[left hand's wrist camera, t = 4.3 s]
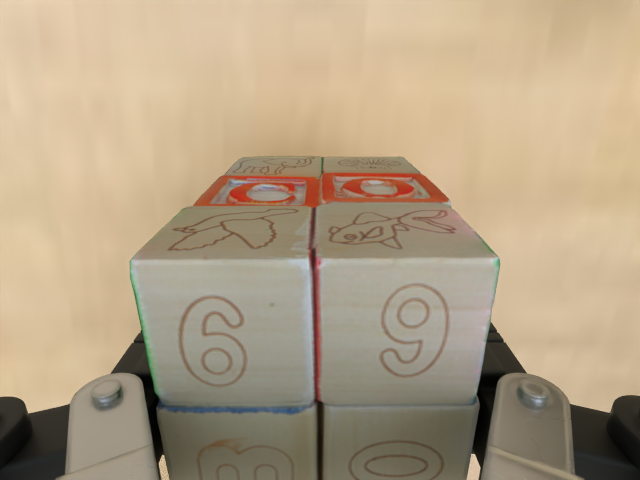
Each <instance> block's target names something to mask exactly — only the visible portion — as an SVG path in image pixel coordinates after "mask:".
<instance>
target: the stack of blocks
mask: <svg viewBox="0 0 640 480" xmlns="http://www.w3.org/2000/svg"><path fill="white" fill-rule="evenodd" d="M499 269H500V260H499V257H498V256H497V255H496V254H495V253H494V252H493V251H492V250H491V248H490V247H489V246H488V245H487V244H486V243H485V242H484V240H483V239H482V238H481V237H480V236H479V235H478V234H477V233H476V232H475V231H474V230H473V229H472V228H471V227H470V226H469V225H468V224H467V223H466V222H465V221H464V220H463V219H462V218H461V216H460V215H459V214H458V213H457V212H456V211H455V210H453V209H452V208H451V206H450V200H449V199H448V198H447V197H446V196H445V195H444V194H443V193H442V192H441V191H440V190H439V189H438V188H437V187H436V186H435V185H434V184H433V183H432V182H431V181H430V180H429V179H428V178H427V177H426V176H424V175H422V174H421V173H420V172H419V171H418V170H417V169H416V168H415V167H413V165H412V164H410V163H409V162H408V161H407V160H406V159H405V158H403V157H315V156H262V157H245V158H241V159H239V160H238V161H237V162H236V163H235V164H234V165H233V166H232V167H231V168H230V169H229V170H228V172H226V174H225V175H224V176H221V177H219V178H218V179H217V180H216V182H214V183H213V184H212V185H211V187H210V188H209V189H208V190H207V191H206V192H205V193H204V194H203V195H202V196H201V197H200V198H199V199H198V200H197V201H196V203H195V204H194V205H193V206H192V207H187V208H184V209H182V210H181V211H180V212H179V213H178V214H177V215H176V216H175V217H174V218H173V219H172V220H171V221H170V222H169V223H168V224H166V225H165V226H164V227H163V228H162V229H161V230H160V231H159V232H158V233H157V234H156V235H155V236H154V237H153V238H152V239H151V240H150V241H149V242H148V243H147V244H146V245H144V246H143V247H142V248H141V249H140V250H139V251H138V252H137V253H136V254H135V255H134V257H133V258H132V259H131V261H130V279H131V283H132V287H133V290H134V295H135V300H136V305H137V310H138V314H139V319H140V324H141V328H142V333H143V338H144V342H145V347H146V353H147V359H148V364H149V368H150V373H151V376H152V380H153V384H154V390H155V393H156V395H157V396H158V398H159V402H158V405H157V408H156V411H157V421H158V426H159V430H160V434H161V439H162V445H163V450H164V456H165V461H166V465H167V470H168V474H169V479H170V480H466V479H467V474H468V468H469V463H470V458H471V452H472V447H473V441H474V435H475V430H476V424H477V419H478V413H479V408H480V403H479V399H478V397H477V390H478V385H479V381H480V376H481V370H482V365H483V359H484V352H485V346H486V341H487V336H488V331H489V327H490V323H491V312H492V306H493V302H494V298H495V292H496V286H497V281H498V275H499Z"/></svg>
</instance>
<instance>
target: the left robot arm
mask: <svg viewBox="0 0 640 480" xmlns="http://www.w3.org/2000/svg"><path fill="white" fill-rule="evenodd" d="M477 397H478V399H479V403H480V408H479V413H478V419H477V424H476V430H475V435H474V441H473V447H472V452H471V454H475V455H476V458H477V460H478V462H479V465H480V467H481V468H480V474H479V479H478V480H640V396H634V395H627V396H622V397H619V398H617V399H616V400H615V401H614V403H613V406H612V409H611V412H610V413H607V412H603V411H598V410H594V409H589V408H585V407H580V406H576V405H572V404H570V403H569V400H568V398H567V397H566V395H565V394H564V393H563V392H562V391H561V390H560V389H559V388H558V387H557V386H555V385H554V384H552V383H551V382H549V381H547V380H545V379H543V378H541V377H538V376H535V375H531V374H527V373H526V371H525V370H524V369H523V367H522V366H521V364H520V363H519V361H518V360H517V359H516V357H515V356H514V354H513V353H512V351H511V350H510V349H509V347H508V346H507V344H506V343H504V341H503V339H502V337H501V336H500V334H499V333H497V330H496V329H495V327H494V326H493V324H492V323H490V327H489V331H488V336H487V341H486V346H485V352H484V359H483V365H482V370H481V376H480V381H479V385H478V390H477ZM158 402H159V398H158V396H157V395H156V393H155V390H154V384H153V380H152V376H151V373H150V368H149V364H148V359H147V353H146V347H145V342H144V338H143V333H142V330H141V333H139V334H138V335H137V337H136V338H135V340H134V343H132V344H131V345H130V347H129V348H128V350H127V351H126V352H125V354H124V355H123V357H122V358H121V359H120V361H119V362H118V364H117V365H116V367H115V368H114V369H113V371H112V372H111V374H109V375H105V376H102V377H99V378H97V379H95V380H93V381H91V382H89V383H88V384H86V385H85V386H83V387H82V388H81V389H80V390H79V391H78V392H77V393H76V394H75V395H74V397H73V398H72V400H71V403H70V404H68V405H64V406H61V407H56V408H52V409H47V410H43V411H38V412H34V413H30V414H28V411H27V409H26V406H25V403H24V402H23V401H22V400H21V399H19V398H16V397H0V480H162V479H161V474H160V468H159V461H160V459H161V456H162V455H164V450H163V445H162V439H161V434H160V430H159V426H158V421H157V411H156V408H157V405H158Z"/></svg>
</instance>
